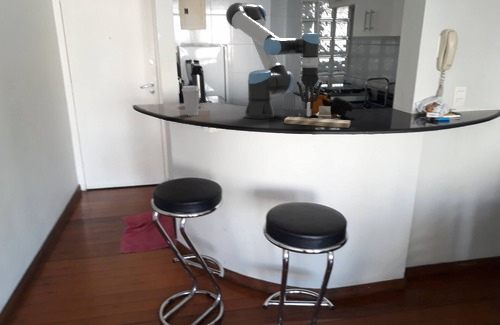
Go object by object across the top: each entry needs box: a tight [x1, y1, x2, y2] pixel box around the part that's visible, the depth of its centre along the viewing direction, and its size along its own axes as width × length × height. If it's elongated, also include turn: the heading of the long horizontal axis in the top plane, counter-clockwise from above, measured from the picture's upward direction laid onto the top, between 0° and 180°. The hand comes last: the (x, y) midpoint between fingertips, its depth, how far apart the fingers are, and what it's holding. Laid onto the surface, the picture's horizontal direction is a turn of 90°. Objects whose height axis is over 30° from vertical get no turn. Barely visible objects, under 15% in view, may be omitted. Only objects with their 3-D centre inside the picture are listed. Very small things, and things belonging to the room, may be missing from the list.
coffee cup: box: [181, 85, 201, 117], centre depth 205 cm, size 10×10×15 cm
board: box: [283, 116, 351, 129], centre depth 182 cm, size 30×7×2 cm, turn 70°
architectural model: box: [315, 106, 332, 119], centre depth 188 cm, size 3×7×7 cm, turn 83°
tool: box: [308, 92, 355, 118], centre depth 201 cm, size 8×23×15 cm, turn 72°
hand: (308, 115), depth 192 cm, fingers closed
